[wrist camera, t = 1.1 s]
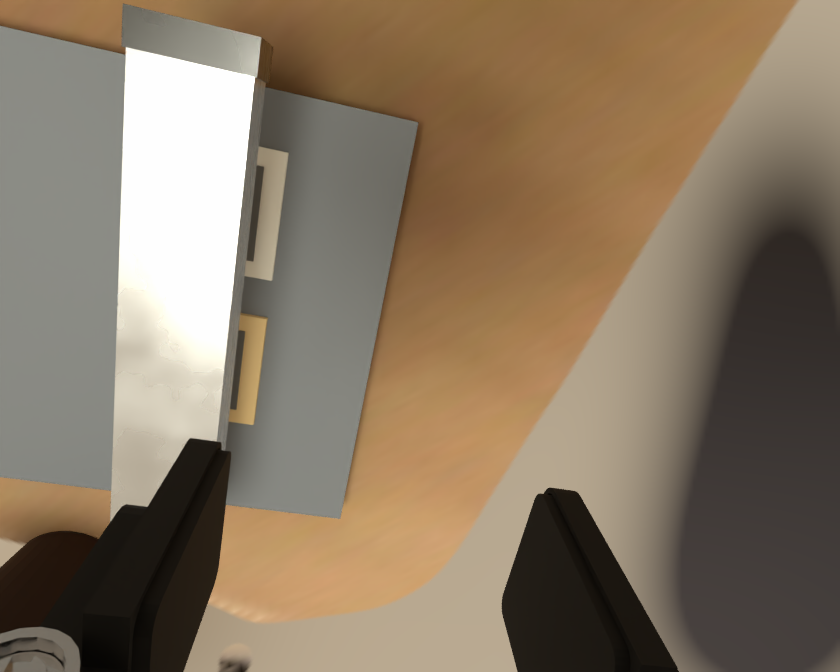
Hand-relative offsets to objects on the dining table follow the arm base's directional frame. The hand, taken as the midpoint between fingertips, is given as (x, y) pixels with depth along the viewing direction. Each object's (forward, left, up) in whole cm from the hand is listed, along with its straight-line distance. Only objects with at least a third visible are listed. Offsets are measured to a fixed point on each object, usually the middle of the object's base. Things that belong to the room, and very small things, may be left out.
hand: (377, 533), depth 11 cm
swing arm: (+2, -8, -14) cm, 16 cm away
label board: (+3, -10, -20) cm, 22 cm away
